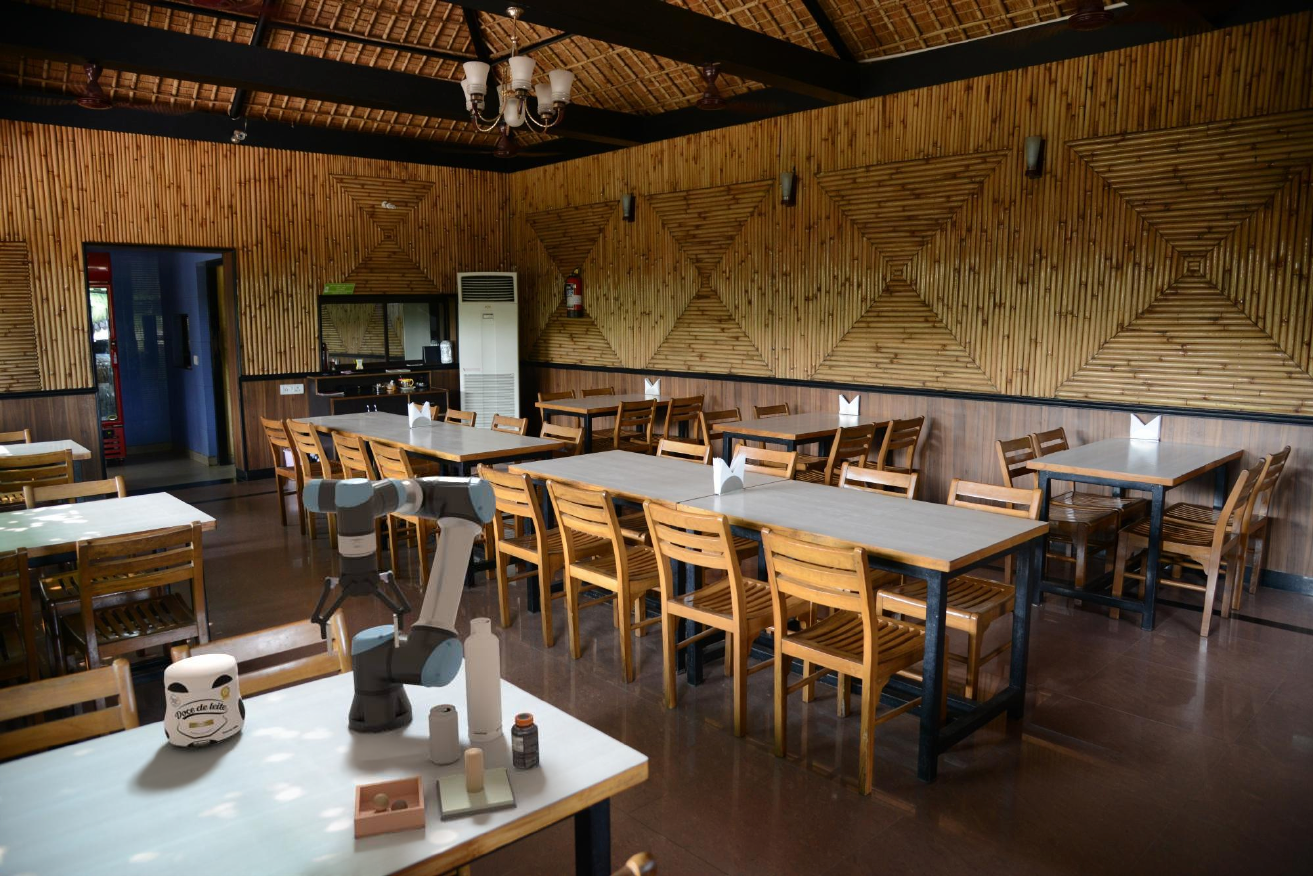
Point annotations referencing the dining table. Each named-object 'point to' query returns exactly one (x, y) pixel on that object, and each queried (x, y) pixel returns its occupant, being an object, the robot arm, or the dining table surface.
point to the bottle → (483, 682)
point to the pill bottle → (525, 742)
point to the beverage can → (444, 734)
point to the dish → (389, 807)
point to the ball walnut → (399, 805)
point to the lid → (474, 787)
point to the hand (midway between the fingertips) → (364, 649)
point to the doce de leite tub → (203, 701)
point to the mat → (474, 810)
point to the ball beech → (380, 802)
